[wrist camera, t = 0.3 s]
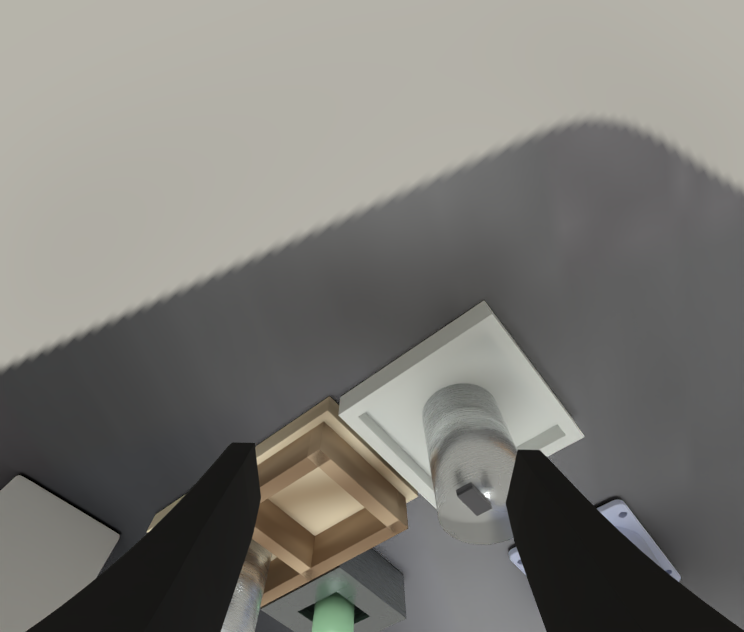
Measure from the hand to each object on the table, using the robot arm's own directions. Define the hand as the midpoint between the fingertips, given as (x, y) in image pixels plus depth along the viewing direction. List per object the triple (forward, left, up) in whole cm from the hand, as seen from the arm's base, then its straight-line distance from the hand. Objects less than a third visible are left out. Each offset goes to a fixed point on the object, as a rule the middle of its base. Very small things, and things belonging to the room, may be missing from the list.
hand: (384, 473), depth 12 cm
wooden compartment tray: (-6, +12, -10) cm, 17 cm away
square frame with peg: (-13, +14, -10) cm, 22 cm away
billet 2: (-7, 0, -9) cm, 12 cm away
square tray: (-7, 0, -10) cm, 12 cm away
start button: (-13, +14, -9) cm, 21 cm away
